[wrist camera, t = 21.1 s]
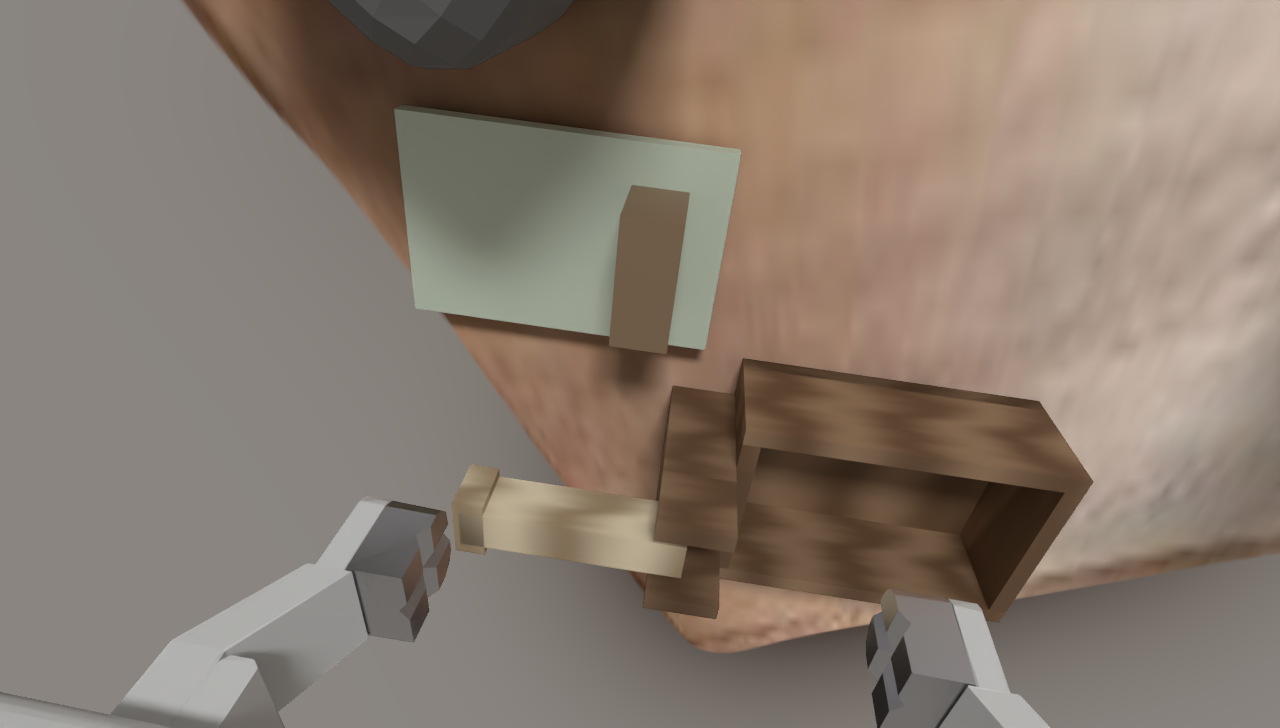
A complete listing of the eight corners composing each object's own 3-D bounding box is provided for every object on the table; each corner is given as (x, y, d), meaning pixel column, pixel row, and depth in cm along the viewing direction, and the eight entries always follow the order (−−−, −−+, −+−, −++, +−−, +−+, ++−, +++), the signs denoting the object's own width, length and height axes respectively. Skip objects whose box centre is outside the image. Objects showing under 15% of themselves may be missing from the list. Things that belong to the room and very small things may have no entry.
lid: (740, 143, 33) (742, 184, 28) (705, 332, 40) (702, 394, 34) (410, 100, 34) (350, 131, 29) (428, 293, 40) (382, 348, 35)
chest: (1039, 401, 39) (1145, 558, 29) (964, 535, 46) (1030, 701, 36) (678, 349, 40) (663, 485, 30) (656, 488, 47) (637, 638, 37)
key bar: (691, 498, 35) (688, 540, 33) (682, 542, 37) (679, 585, 35) (470, 464, 36) (451, 503, 33) (473, 510, 38) (455, 550, 35)
